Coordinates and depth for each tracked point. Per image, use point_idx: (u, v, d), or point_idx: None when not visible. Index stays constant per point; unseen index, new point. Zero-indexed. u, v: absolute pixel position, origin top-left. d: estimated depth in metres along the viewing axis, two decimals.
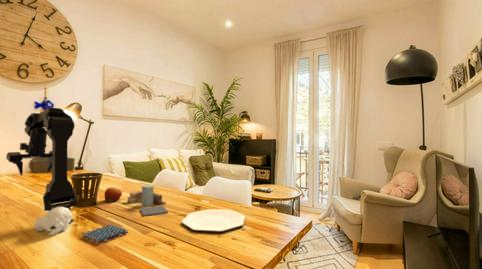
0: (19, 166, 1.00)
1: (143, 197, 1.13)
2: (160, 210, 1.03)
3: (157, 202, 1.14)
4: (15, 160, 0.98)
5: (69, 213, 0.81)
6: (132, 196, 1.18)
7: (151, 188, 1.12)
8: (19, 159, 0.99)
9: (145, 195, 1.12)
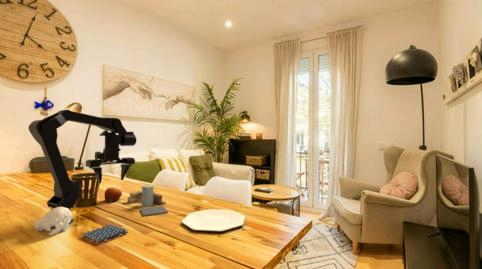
0: (99, 172, 0.98)
1: (143, 197, 1.13)
2: (160, 210, 1.03)
3: (157, 202, 1.14)
4: (95, 165, 0.96)
5: (69, 213, 0.81)
6: (132, 196, 1.18)
7: (151, 188, 1.12)
8: (98, 164, 0.97)
9: (145, 195, 1.12)
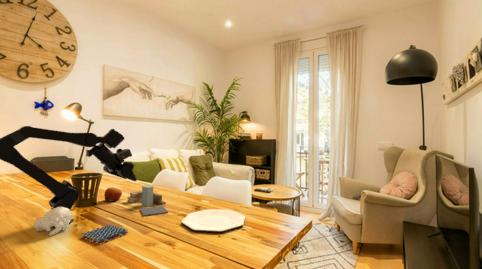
0: None
1: (143, 197, 1.13)
2: (160, 210, 1.03)
3: (157, 202, 1.14)
4: (106, 171, 1.06)
5: (69, 213, 0.81)
6: (132, 196, 1.18)
7: (151, 188, 1.12)
8: (106, 171, 1.05)
9: (145, 195, 1.12)
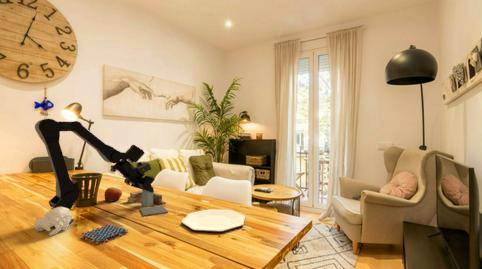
0: (136, 187, 1.13)
1: (143, 197, 1.13)
2: (160, 210, 1.03)
3: (157, 202, 1.14)
4: (127, 184, 1.13)
5: (69, 213, 0.81)
6: (132, 196, 1.18)
7: None
8: (127, 183, 1.12)
9: (145, 195, 1.12)
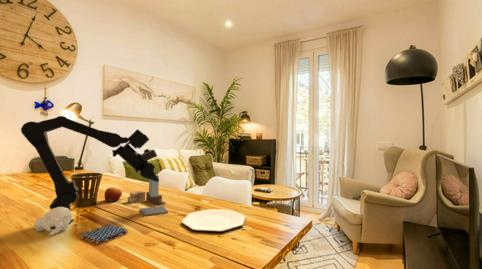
0: None
1: (149, 186, 1.05)
2: (160, 210, 1.03)
3: (157, 202, 1.14)
4: (135, 171, 1.08)
5: (69, 213, 0.81)
6: (132, 196, 1.18)
7: None
8: (135, 171, 1.07)
9: (150, 184, 1.04)
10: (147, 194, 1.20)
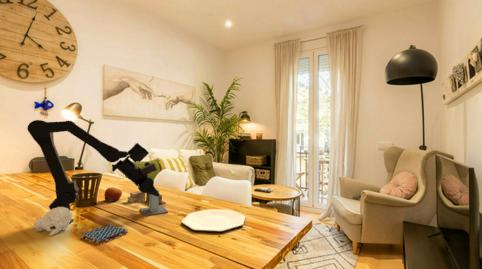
0: None
1: (149, 200, 1.04)
2: (160, 210, 1.03)
3: None
4: None
5: (69, 213, 0.81)
6: (132, 196, 1.18)
7: None
8: None
9: (150, 199, 1.02)
10: (147, 194, 1.20)
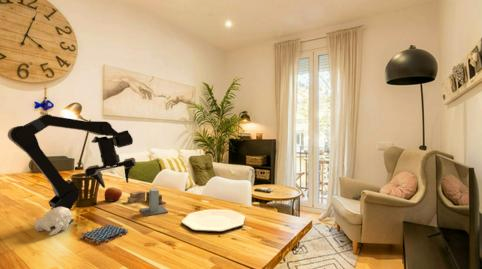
0: (96, 179, 0.97)
1: (149, 200, 1.04)
2: (160, 210, 1.03)
3: None
4: (90, 173, 0.96)
5: (69, 213, 0.81)
6: (132, 196, 1.18)
7: (156, 192, 1.02)
8: (93, 172, 0.96)
9: (150, 199, 1.02)
10: (147, 194, 1.20)
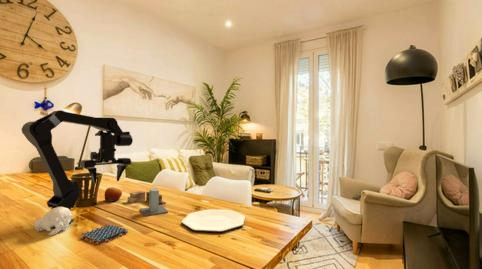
0: (93, 172, 0.96)
1: (149, 200, 1.04)
2: (160, 210, 1.03)
3: None
4: (89, 165, 0.94)
5: (69, 213, 0.81)
6: (132, 196, 1.18)
7: (156, 192, 1.02)
8: (93, 164, 0.95)
9: (150, 199, 1.02)
10: (147, 194, 1.20)
